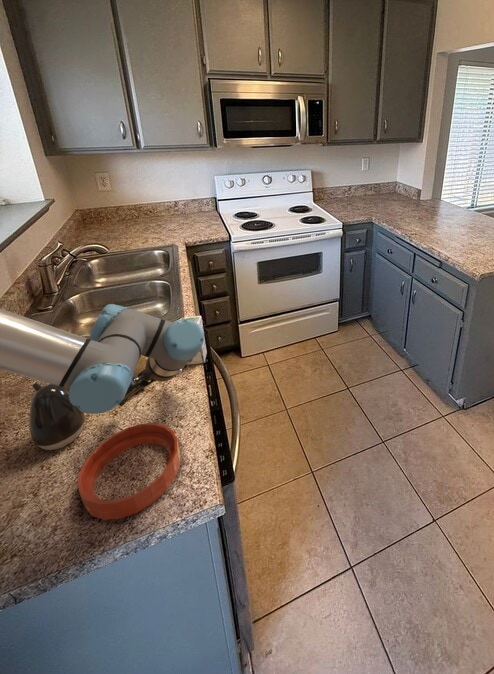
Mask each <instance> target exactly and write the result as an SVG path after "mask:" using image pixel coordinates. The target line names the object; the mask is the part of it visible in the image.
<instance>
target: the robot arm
mask: <svg viewBox="0 0 494 674" xmlns="http://www.w3.org/2000/svg"><path fill="white" fill-rule="evenodd" d="M181 319H182V318H181ZM181 319H178V320H176V321H173V322H172V321H170V320H166V319H161V318H160V317H156V316H153V315H150V314H148V313H144V312H142V311H139V310H135V309H134V308H131V307H129V306H127V307H126V306H122V305H118V304H115V303H109V304H106V305H105V306H104V307H103V309H102V310H101V311H100V314H99V315H98V317H97V318H96V320H95V323H94V324H93V326H92V328H91V330H90V333H89V334H90V336H89V338H90V339H87V338H84V337H81V336H82V335H78V334H75V333H72V332H70V331H66V330H64V329H61V328H59V327H55V326H52V325H49V324H46V323H44V322H40V321H37V320H35V319H32V318H30V317H26V316H25V315H21V314H17V313H15V312H12V311H9V310H7V309H3V308H1V307H0V370H1V371H4V372H9V373H12V374H16V375H18V376H22V377H26V378H30V379H33V380H36V381H40V382H43V383H46V384H53V385H57V386H60V387H63V388H65V389H67V390H68V391H69V400H70V402H71V404H72V405H73V406H76V407H77V408H78V410H80V411H82V412H84V414H91V415H94V414H95V415H96V414H97V415H98V414H103V413H107V412H109V411H112V410H113V409H115V408H116V407H117V406H120V407H123V406H124V405H125V404H126V403H127V401H128V400H129V397H131V396H132V395H134V394H135V393H137V392H138V391H139V390H141V389H142V388H146V387H148V386H151V384H154V382H159V383H160V382H162V383H163V382H169V381H170V380H172V379H174V378H175V377H176V376H177V375H181V374H182V373H183V370H185V369H186V368H188V365H186V364H187V363H188V362H191V361H192V360H193V358H194V357H195V356H196V355H197V353H198V352H199V350H200V348H201V347H202V345H203V342H204V338H205V332H204V333H203V331H204V329H203V330H202V328H201V327H200V325H199V324H198V323H196V322H195V321H193V320H189V319H182V320H181ZM140 356H143V357H145V358H146V359H147V361H146V369H145V370H143V371H142V372H141V373H139V374H138V377H137V378H136V377H135V376H134V373H135V370H136V367H137V364H138V361H139V359H140ZM182 369H183V370H182Z"/></svg>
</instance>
